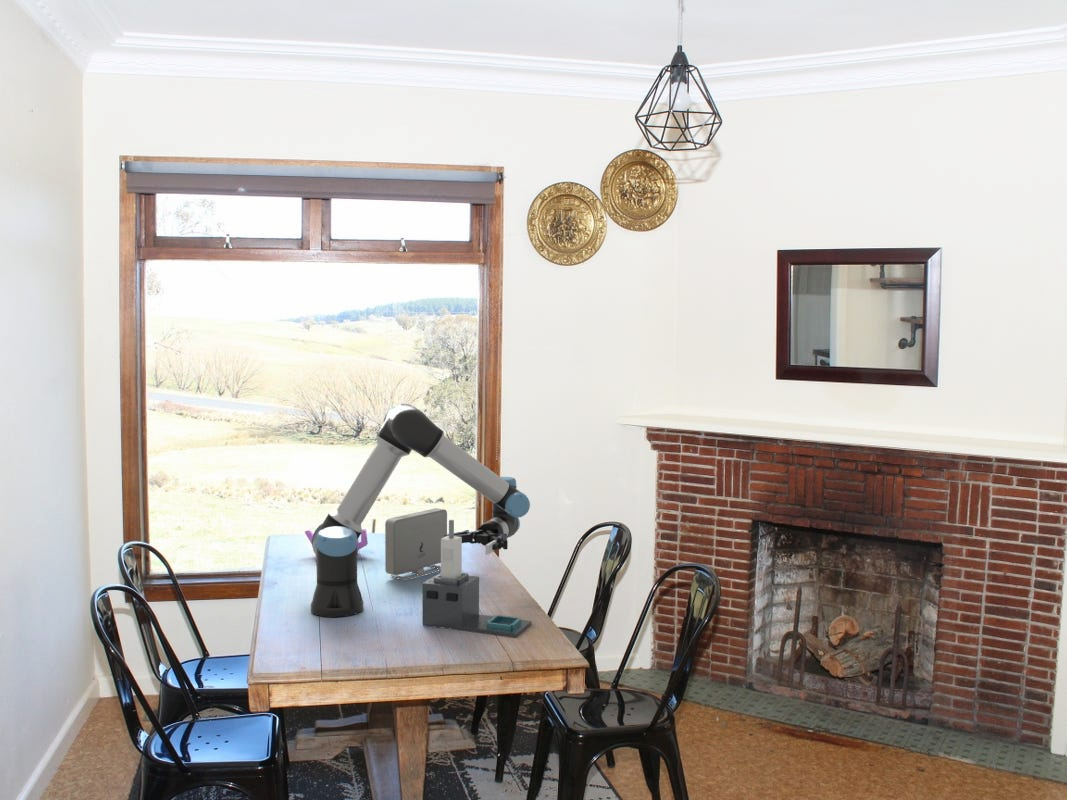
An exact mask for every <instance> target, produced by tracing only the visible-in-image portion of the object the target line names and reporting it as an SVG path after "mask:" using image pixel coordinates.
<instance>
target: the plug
mask: <svg viewBox="0 0 1067 800" xmlns="http://www.w3.org/2000/svg"><path fill="white" fill-rule="evenodd" d="M454 533H455V520H454V519H448V534H449V536H446V537H444V538H442V539H441V563H440V567H441V571H440V573H441V578H448V579H458V578H460V577H461V576H462V573H463V572H462V565H463V563H462V562H463V561H462V555H463V554H462V553H463V552H462V551H463V548H462V546H463V545H462V544H463V543H462V537H457V536H454Z"/></svg>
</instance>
